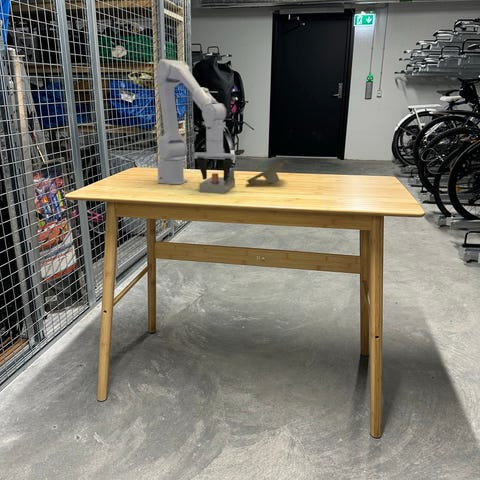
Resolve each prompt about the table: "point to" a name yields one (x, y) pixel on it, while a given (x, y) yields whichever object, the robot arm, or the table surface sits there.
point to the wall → (268, 174)
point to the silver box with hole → (218, 184)
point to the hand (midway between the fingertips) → (215, 179)
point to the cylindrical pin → (214, 178)
